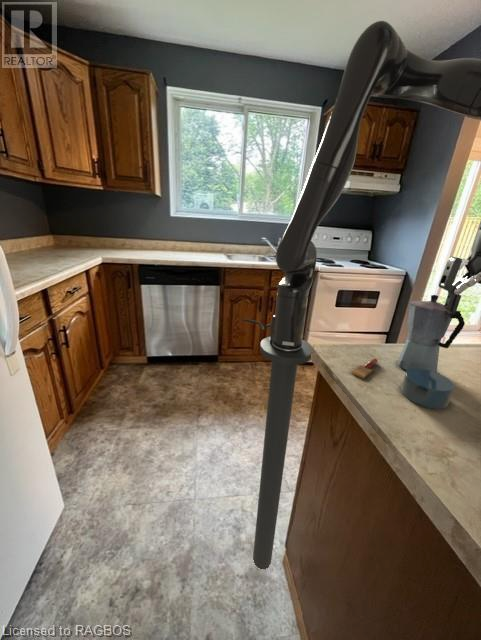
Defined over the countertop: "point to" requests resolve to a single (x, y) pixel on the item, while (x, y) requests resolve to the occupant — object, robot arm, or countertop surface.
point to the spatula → (364, 369)
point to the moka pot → (427, 334)
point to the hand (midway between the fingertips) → (475, 315)
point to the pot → (427, 388)
